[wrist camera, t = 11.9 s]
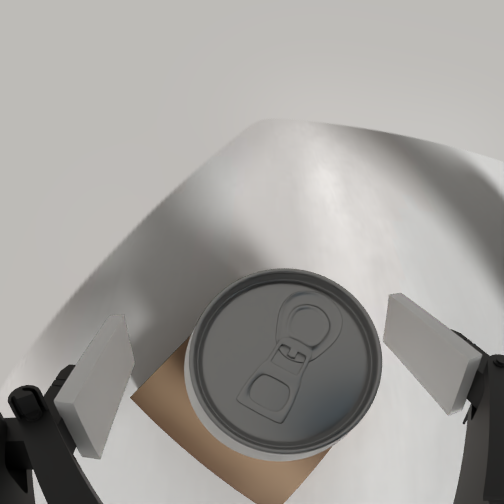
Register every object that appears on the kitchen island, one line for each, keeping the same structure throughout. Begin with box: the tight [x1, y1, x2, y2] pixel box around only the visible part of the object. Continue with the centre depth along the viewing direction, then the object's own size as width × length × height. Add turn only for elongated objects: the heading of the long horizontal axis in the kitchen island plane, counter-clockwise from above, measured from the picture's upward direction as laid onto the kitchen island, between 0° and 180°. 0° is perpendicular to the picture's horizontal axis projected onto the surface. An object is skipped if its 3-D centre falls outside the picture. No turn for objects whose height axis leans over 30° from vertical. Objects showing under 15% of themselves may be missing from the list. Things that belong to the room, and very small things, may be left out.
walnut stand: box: [130, 335, 332, 504], centre depth 21 cm, size 12×12×4 cm
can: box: [184, 268, 382, 461], centre depth 14 cm, size 6×6×12 cm
